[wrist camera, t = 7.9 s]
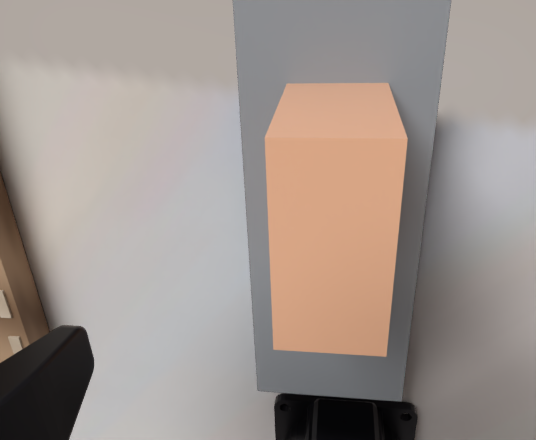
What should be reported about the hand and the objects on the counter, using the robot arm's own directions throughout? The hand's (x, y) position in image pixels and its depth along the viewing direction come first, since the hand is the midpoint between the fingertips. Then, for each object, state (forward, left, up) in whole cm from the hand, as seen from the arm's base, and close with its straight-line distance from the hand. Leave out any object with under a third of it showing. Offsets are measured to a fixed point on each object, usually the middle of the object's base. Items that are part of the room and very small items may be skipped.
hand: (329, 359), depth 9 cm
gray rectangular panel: (0, 0, -10) cm, 10 cm away
